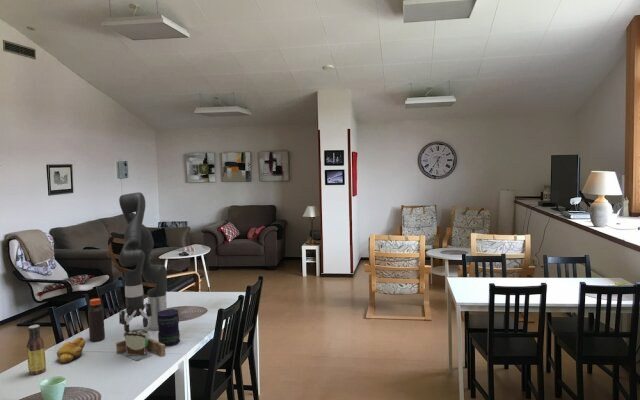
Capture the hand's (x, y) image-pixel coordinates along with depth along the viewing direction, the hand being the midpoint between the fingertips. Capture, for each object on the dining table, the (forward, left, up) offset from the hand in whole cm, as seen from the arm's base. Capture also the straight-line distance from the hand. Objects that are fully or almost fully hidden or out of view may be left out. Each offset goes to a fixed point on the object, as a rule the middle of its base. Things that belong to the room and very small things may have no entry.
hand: (136, 329), depth 211 cm
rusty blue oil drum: (-1, +17, -12) cm, 21 cm away
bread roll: (-21, -21, -12) cm, 32 cm away
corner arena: (+1, +1, -12) cm, 12 cm away
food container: (-1, +2, -12) cm, 12 cm away
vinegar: (-34, -2, -12) cm, 36 cm away
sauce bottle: (-17, -35, -12) cm, 41 cm away
